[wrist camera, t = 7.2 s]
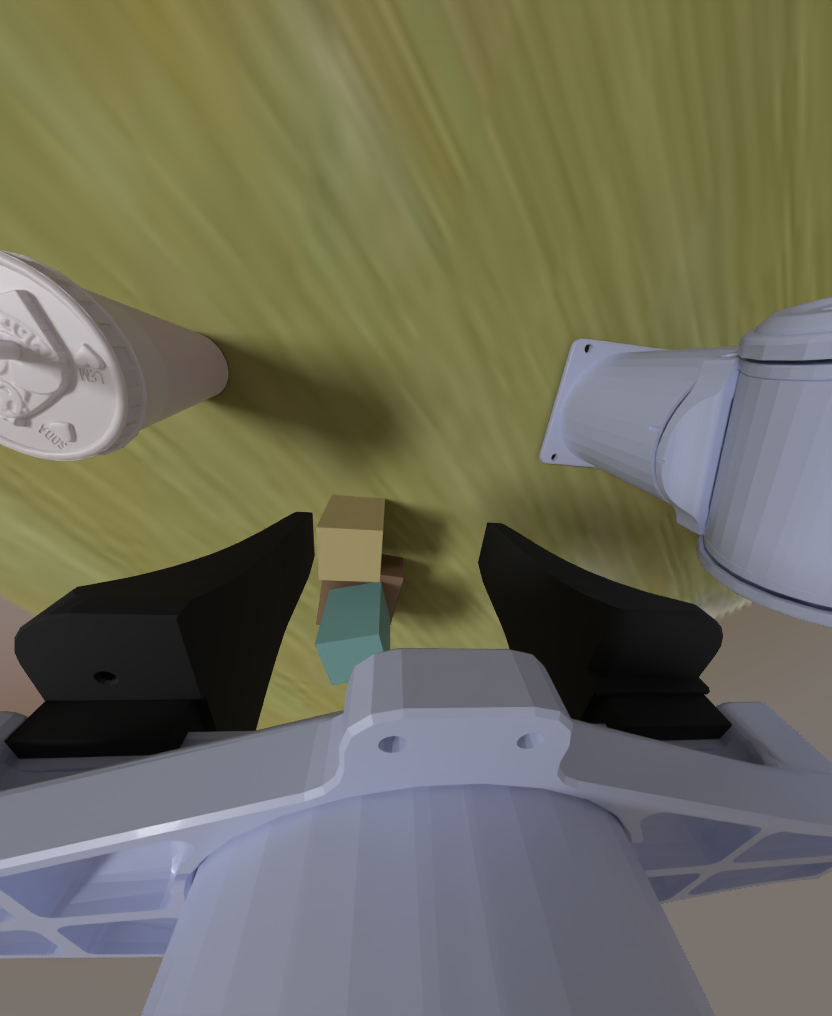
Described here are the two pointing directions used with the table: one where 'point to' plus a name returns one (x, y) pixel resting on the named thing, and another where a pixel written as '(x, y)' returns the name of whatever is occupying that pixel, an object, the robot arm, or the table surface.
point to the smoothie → (89, 366)
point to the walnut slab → (388, 576)
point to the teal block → (352, 629)
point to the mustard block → (351, 539)
